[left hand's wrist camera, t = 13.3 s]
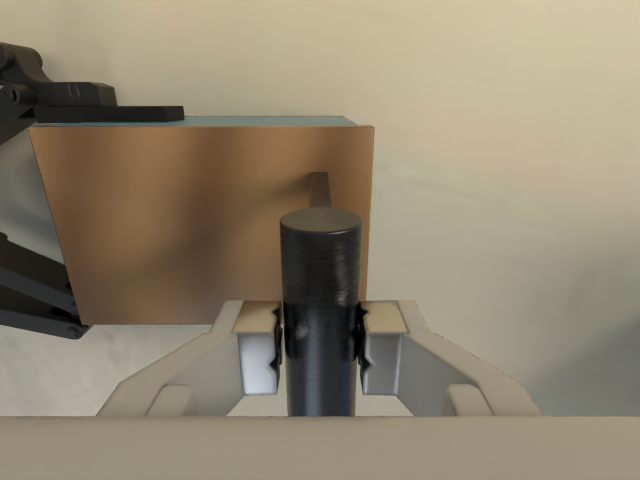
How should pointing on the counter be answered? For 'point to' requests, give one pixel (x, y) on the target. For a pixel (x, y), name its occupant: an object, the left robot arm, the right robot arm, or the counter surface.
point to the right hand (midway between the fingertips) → (187, 205)
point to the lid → (221, 233)
